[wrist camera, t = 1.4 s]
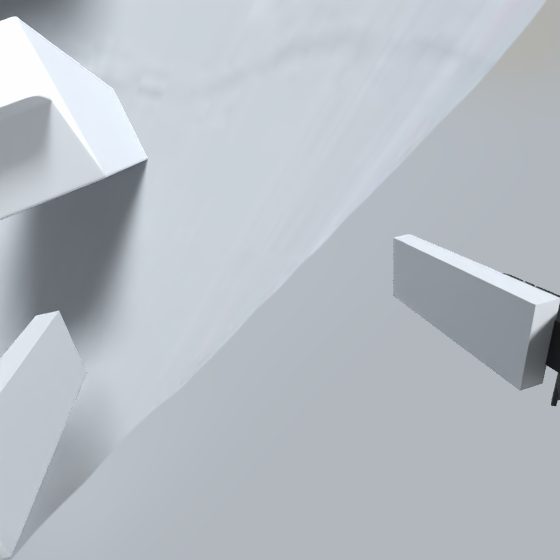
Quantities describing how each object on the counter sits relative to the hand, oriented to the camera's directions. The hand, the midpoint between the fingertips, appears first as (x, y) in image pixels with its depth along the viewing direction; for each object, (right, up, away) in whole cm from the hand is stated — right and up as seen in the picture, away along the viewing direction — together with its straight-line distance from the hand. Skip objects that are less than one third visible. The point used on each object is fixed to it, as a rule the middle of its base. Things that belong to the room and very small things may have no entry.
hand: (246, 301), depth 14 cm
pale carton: (-14, +13, +17) cm, 26 cm away
